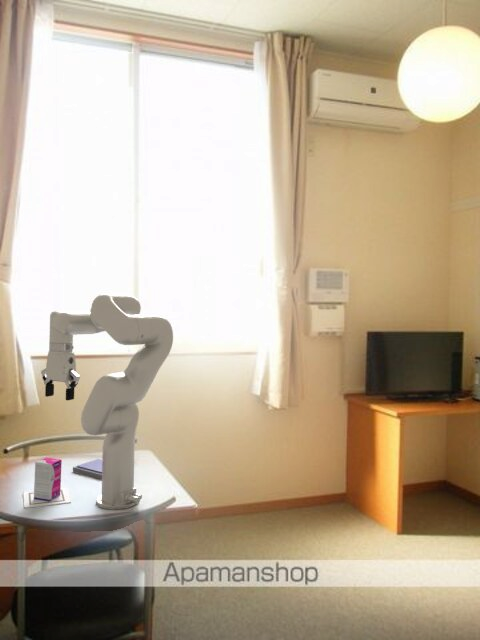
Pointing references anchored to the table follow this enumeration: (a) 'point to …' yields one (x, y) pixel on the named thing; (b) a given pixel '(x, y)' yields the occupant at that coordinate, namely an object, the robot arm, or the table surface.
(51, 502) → the marked card
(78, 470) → the ink pad
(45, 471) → the supplement box
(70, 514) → the table surface
